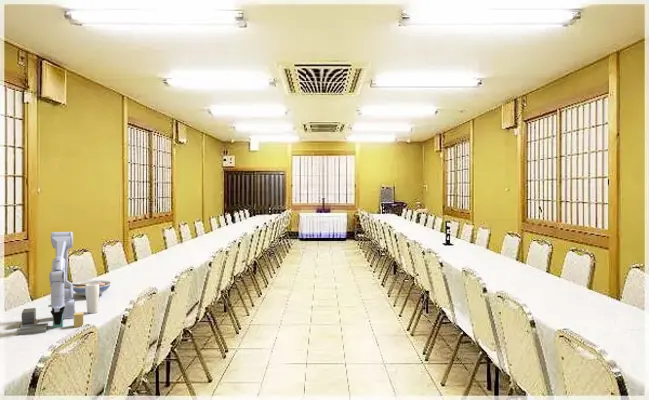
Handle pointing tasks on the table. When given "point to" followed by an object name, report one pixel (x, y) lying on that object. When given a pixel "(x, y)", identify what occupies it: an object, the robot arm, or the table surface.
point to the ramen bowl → (80, 286)
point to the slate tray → (33, 328)
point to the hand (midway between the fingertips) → (58, 323)
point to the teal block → (60, 323)
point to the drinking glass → (92, 297)
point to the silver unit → (29, 317)
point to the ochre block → (78, 319)
